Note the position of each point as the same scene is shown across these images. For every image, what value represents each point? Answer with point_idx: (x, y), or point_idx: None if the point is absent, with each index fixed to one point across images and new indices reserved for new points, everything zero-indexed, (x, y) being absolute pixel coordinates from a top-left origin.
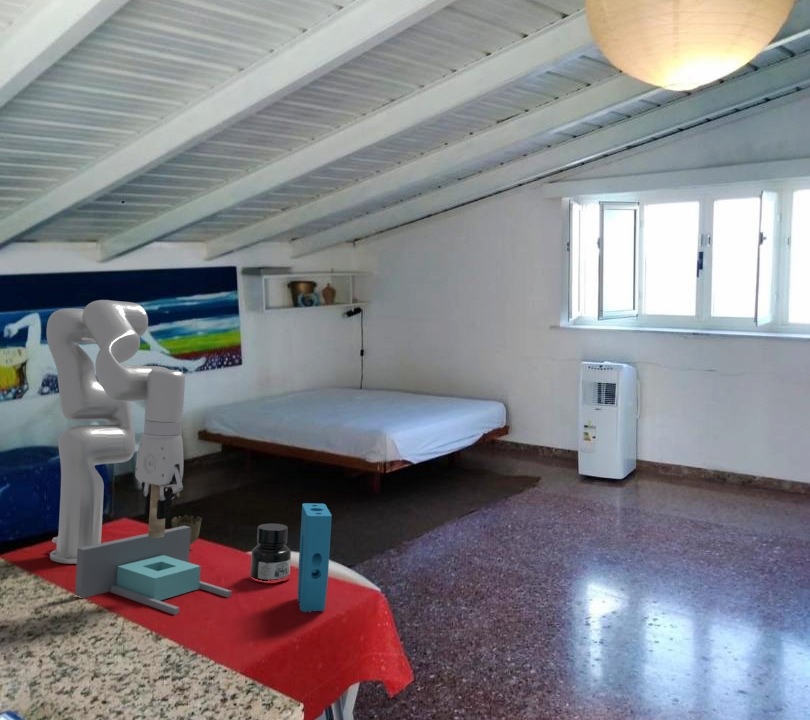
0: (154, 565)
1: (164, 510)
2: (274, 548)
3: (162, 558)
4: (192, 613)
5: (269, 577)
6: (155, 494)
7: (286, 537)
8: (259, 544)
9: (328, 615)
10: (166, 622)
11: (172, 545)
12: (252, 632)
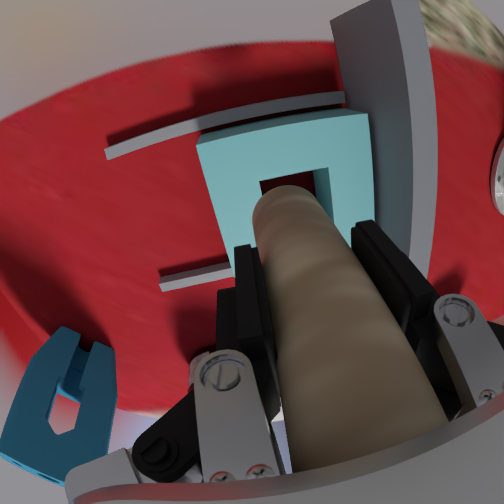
0: (330, 205)
1: (218, 309)
2: None
3: None
4: (102, 181)
5: (192, 362)
6: (322, 366)
7: None
8: None
9: (44, 339)
10: (80, 117)
11: None
12: (3, 231)
